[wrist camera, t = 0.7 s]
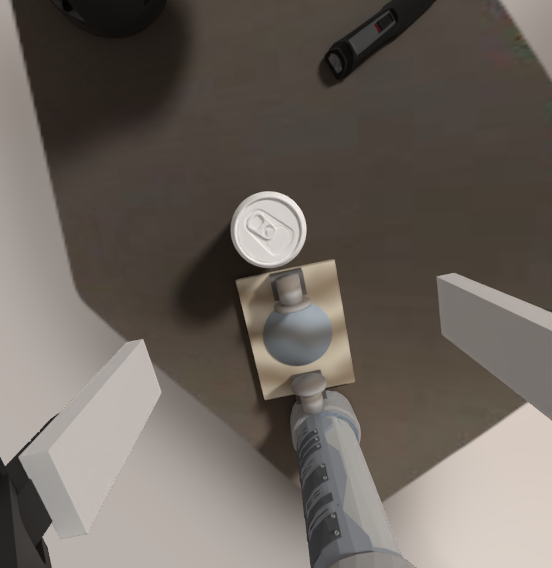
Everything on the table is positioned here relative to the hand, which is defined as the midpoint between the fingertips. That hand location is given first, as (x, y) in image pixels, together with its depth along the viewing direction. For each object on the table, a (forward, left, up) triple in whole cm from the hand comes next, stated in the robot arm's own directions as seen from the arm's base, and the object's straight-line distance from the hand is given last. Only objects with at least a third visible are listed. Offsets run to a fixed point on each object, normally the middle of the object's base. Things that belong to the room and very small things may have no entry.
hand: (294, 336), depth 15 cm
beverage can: (-3, 0, -33) cm, 33 cm away
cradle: (+13, +1, -33) cm, 35 cm away
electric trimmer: (-24, +18, -33) cm, 45 cm away
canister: (+28, +2, -33) cm, 43 cm away
